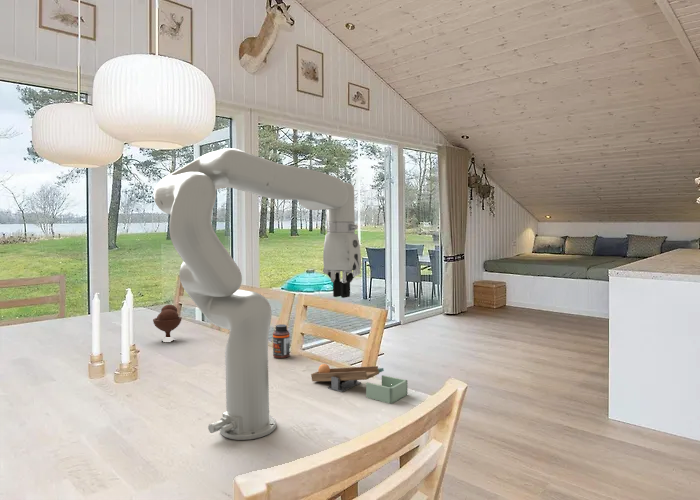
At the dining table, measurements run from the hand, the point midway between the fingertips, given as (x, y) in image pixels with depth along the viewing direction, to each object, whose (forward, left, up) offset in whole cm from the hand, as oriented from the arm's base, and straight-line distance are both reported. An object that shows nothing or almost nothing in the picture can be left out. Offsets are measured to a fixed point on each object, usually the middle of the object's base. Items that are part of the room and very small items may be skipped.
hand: (341, 296), depth 128 cm
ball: (+6, +12, -24) cm, 27 cm away
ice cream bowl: (+8, +98, -27) cm, 102 cm away
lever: (+8, +4, -25) cm, 26 cm away
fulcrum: (+6, +4, -27) cm, 28 cm away
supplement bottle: (+18, +42, -27) cm, 53 cm away
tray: (+6, -10, -27) cm, 30 cm away
